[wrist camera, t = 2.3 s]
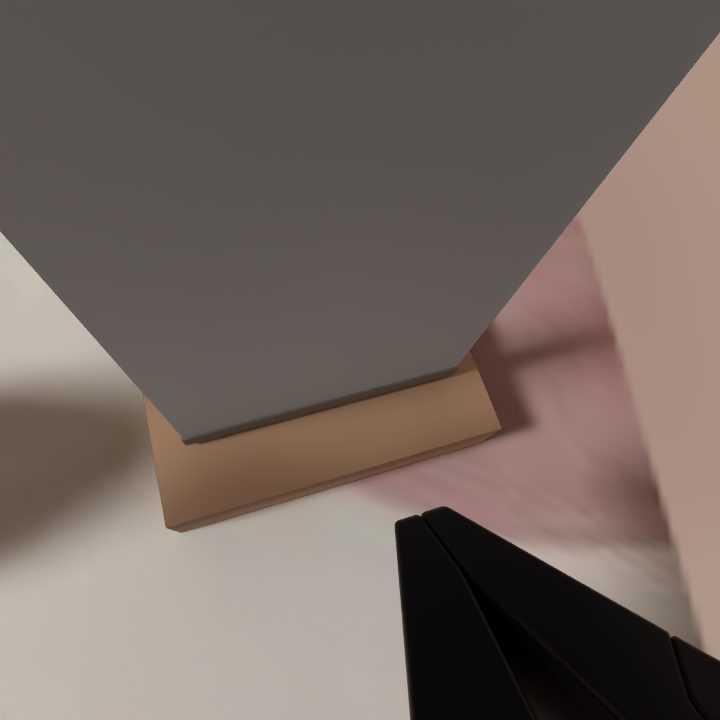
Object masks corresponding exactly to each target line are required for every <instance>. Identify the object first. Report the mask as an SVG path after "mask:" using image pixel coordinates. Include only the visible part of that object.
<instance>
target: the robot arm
mask: <svg viewBox="0 0 720 720" xmlns="http://www.w3.org/2000/svg"><path fill="white" fill-rule="evenodd" d="M395 537H396V549H397V562H398V574H399V586H400V599H401V611H402V624H403V636H404V648H405V661H406V673H407V685H408V698H409V710H410V720H720V661H719V660H717V659H715V658H714V657H712V656H710V655H708V654H706V653H705V652H703V651H701V650H699V649H697V648H696V647H694V646H692V645H690V644H689V643H687V642H685V641H683V640H682V639H680V638H678V637H676V636H673V637H670V635H669V633H668V632H667V631H665V630H664V629H662V628H660V627H658V626H656V625H655V624H653V623H651V622H649V621H648V620H646V619H644V618H642V617H641V616H639V615H637V614H635V613H634V612H632V611H630V610H628V609H627V608H625V607H623V606H621V605H619V604H618V603H616V602H614V601H612V600H611V599H609V598H607V597H605V596H604V595H602V594H600V593H598V592H597V591H595V590H593V589H591V588H590V587H588V586H586V585H584V584H582V583H581V582H579V581H577V580H575V579H574V578H572V577H570V576H568V575H567V574H565V573H563V572H561V571H560V570H558V569H556V568H554V567H553V566H551V565H549V564H547V563H545V562H544V561H542V560H540V559H538V558H537V557H535V556H533V555H531V554H530V553H528V552H526V551H524V550H523V549H521V548H519V547H517V546H516V545H514V544H512V543H510V542H508V541H507V540H505V539H503V538H501V537H500V536H498V535H496V534H494V533H493V532H491V531H489V530H487V529H486V528H484V527H482V526H480V525H479V524H477V523H475V522H473V521H471V520H470V519H468V518H466V517H464V516H463V515H461V514H459V513H457V512H456V511H454V510H452V509H450V508H448V507H445V506H442V507H439V508H435V509H432V510H429V511H426V512H424V513H422V515H421V516H419V515H414V516H411V517H408V518H404V519H401V520H398V521H397V522H396V523H395Z"/></svg>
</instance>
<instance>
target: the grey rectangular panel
mask: <svg viewBox="0 0 720 720" xmlns="http://www.w3.org/2000/svg"><path fill="white" fill-rule="evenodd" d="M719 32H720V0H0V231H1V233H2V234H3V235H4V236H5V237H6V238H7V239H8V240H9V242H10V243H11V244H12V245H13V246H14V247H15V248H16V250H17V251H18V252H19V253H20V254H21V255H22V256H23V257H24V259H25V260H26V261H27V262H28V263H29V264H30V265H31V267H32V268H33V269H34V270H35V271H36V272H37V273H38V274H39V276H40V277H41V278H42V279H43V280H44V281H45V282H46V284H47V285H48V286H49V287H50V288H51V289H52V290H53V291H54V293H55V294H56V295H57V296H58V297H59V298H60V299H61V301H62V302H63V303H64V304H65V305H66V306H67V307H68V308H69V310H70V311H71V312H72V313H73V314H74V315H75V316H76V318H77V319H78V320H79V321H80V322H81V323H82V324H83V325H84V327H85V328H86V329H87V330H88V331H89V332H90V333H91V335H92V336H93V337H94V338H95V339H96V340H97V341H98V342H99V344H100V345H101V346H102V347H103V348H104V349H105V350H106V352H107V353H108V354H109V355H110V356H111V357H112V358H113V359H114V361H115V362H116V363H117V364H118V365H119V366H120V367H121V369H122V370H123V371H124V372H125V373H126V374H127V375H128V376H129V378H130V379H131V380H132V381H133V382H134V383H135V384H136V386H137V387H138V388H139V389H140V390H141V391H142V392H143V393H144V395H145V396H146V397H147V398H148V399H149V400H150V401H151V403H152V404H153V405H154V406H155V407H156V408H157V409H158V410H159V412H160V413H161V414H162V415H163V416H164V417H165V418H166V420H167V421H168V422H169V423H170V424H171V425H172V426H173V427H174V429H175V430H176V431H177V432H178V433H179V434H180V435H181V440H182V442H183V443H184V444H185V445H186V446H187V445H191V444H195V443H198V442H202V441H206V440H210V439H213V438H217V437H221V436H225V435H229V434H232V433H236V432H240V431H244V430H247V429H251V428H255V427H259V426H262V425H266V424H270V423H274V422H277V421H281V420H285V419H289V418H292V417H296V416H300V415H304V414H307V413H311V412H315V411H319V410H322V409H326V408H330V407H334V406H337V405H341V404H345V403H349V402H352V401H356V400H360V399H364V398H367V397H371V396H375V395H379V394H382V393H386V392H390V391H394V390H397V389H401V388H405V387H409V386H412V385H416V384H420V383H424V382H427V381H431V380H435V379H439V378H442V377H446V376H450V375H454V373H455V372H456V371H457V370H458V368H459V366H458V365H459V363H460V362H461V361H462V359H463V358H464V357H465V356H466V354H467V353H468V352H469V351H470V349H471V348H472V347H473V345H474V344H475V343H476V342H477V340H478V339H479V338H480V337H481V335H482V334H483V333H484V331H485V330H486V329H487V328H488V326H489V325H490V324H491V323H492V321H493V320H494V319H495V317H496V316H497V315H498V314H499V312H500V311H501V310H502V309H503V307H504V306H505V305H506V303H507V302H508V301H509V300H510V298H511V297H512V296H513V295H514V293H515V292H516V291H517V289H518V288H519V287H520V286H521V284H522V283H523V282H524V281H525V279H526V278H527V277H528V275H529V274H530V273H531V272H532V270H533V269H534V268H535V267H536V265H537V264H538V263H539V261H540V260H541V259H542V258H543V256H544V255H545V254H546V253H547V251H548V250H549V249H550V247H551V246H552V245H553V244H554V242H555V241H556V240H557V239H558V237H559V236H560V235H561V233H562V232H563V231H564V230H565V228H566V227H567V226H568V225H569V223H570V222H571V221H572V220H573V218H574V217H575V216H576V214H577V213H578V212H579V211H580V209H581V208H582V207H583V206H584V204H585V203H586V202H587V200H588V199H589V198H590V197H591V195H592V194H593V193H594V191H595V190H596V189H597V188H598V186H599V185H600V184H601V183H602V181H603V180H604V179H605V177H606V176H607V175H608V174H609V172H610V171H611V170H612V169H613V167H614V166H615V165H616V164H617V162H618V161H619V160H620V158H621V157H622V156H623V155H624V153H625V152H626V151H627V150H628V148H629V147H630V146H631V144H632V143H633V142H634V141H635V139H636V138H637V137H638V136H639V134H640V133H641V132H642V130H643V129H644V128H645V127H646V125H647V124H648V123H649V121H650V120H651V119H652V118H653V116H654V115H655V114H656V113H657V111H658V110H659V109H660V108H661V106H662V105H663V104H664V102H665V101H666V100H667V98H668V97H669V96H670V95H671V93H672V92H673V91H674V90H675V88H676V87H677V86H678V85H679V83H680V82H681V81H682V79H683V78H684V77H685V76H686V74H687V73H688V72H689V70H690V69H691V68H692V67H693V66H694V64H695V63H696V62H697V60H698V59H699V58H700V57H701V55H702V54H703V53H704V52H705V50H706V49H707V48H708V46H709V45H710V44H711V43H712V41H713V40H714V39H715V38H716V36H717V35H718V34H719Z"/></svg>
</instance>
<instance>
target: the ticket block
mask: <svg viewBox="0 0 720 720" xmlns="http://www.w3.org/2000/svg"><path fill="white" fill-rule="evenodd" d="M458 366H459V368H458V370H457V371H456V372H455V373H454V375H450V376H446V377H442V378H439V379H435V380H431V381H427V382H424V383H420V384H416V385H412V386H409V387H405V388H401V389H397V390H394V391H390V392H386V393H382V394H379V395H375V396H371V397H367V398H364V399H360V400H356V401H352V402H349V403H345V404H341V405H337V406H334V407H330V408H326V409H322V410H319V411H315V412H311V413H307V414H304V415H300V416H296V417H292V418H289V419H285V420H281V421H277V422H274V423H270V424H266V425H262V426H259V427H255V428H251V429H247V430H244V431H240V432H236V433H232V434H229V435H225V436H221V437H217V438H213V439H210V440H206V441H202V442H198V443H195V444H191V445H187V446H186V445H185V444H184V443H183V442H182V440H181V435H180V434H179V433H178V432H177V431H176V430H175V429H174V427H173V426H172V425H171V424H170V423H169V422H168V421H167V420H166V418H165V417H164V416H163V415H162V414H161V413H160V412H159V410H158V409H157V408H156V407H155V406H154V405H153V404H152V403H151V401H150V400H149V399H148V398H147V397H146V396H145V395H144V393H143V392H142V394H143V399H144V405H145V411H146V416H147V422H148V428H149V434H150V439H151V445H152V451H153V457H154V462H155V468H156V474H157V479H158V485H159V491H160V497H161V502H162V508H163V514H164V520H165V525H166V528H168V529H171V530H174V531H178V532H181V533H182V532H185V531H189V530H192V529H195V528H199V527H202V526H205V525H209V524H212V523H215V522H219V521H222V520H225V519H229V518H232V517H235V516H239V515H242V514H245V513H249V512H252V511H255V510H259V509H262V508H265V507H269V506H272V505H275V504H279V503H282V502H285V501H289V500H292V499H295V498H299V497H302V496H305V495H309V494H312V493H315V492H319V491H322V490H325V489H329V488H332V487H335V486H339V485H342V484H345V483H349V482H352V481H355V480H359V479H362V478H365V477H369V476H372V475H375V474H379V473H382V472H385V471H389V470H392V469H395V468H399V467H402V466H405V465H409V464H412V463H415V462H419V461H422V460H426V459H429V458H432V457H436V456H439V455H442V454H446V453H449V452H452V451H456V450H459V449H462V448H466V447H469V446H472V445H476V444H479V443H481V442H483V441H484V440H486V439H487V438H489V437H490V436H492V435H493V434H494V433H496V432H497V431H499V430H500V429H502V427H501V425H500V422H499V420H498V418H497V415H496V413H495V410H494V408H493V405H492V403H491V400H490V398H489V395H488V393H487V391H486V388H485V386H484V383H483V381H482V378H481V376H480V373H479V371H478V368H477V366H476V364H475V361H474V359H473V356H472V354H471V351H469V352H468V353H467V354H466V356H465V357H464V358H463V359H462V361H461V362H460V363H459V365H458Z"/></svg>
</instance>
